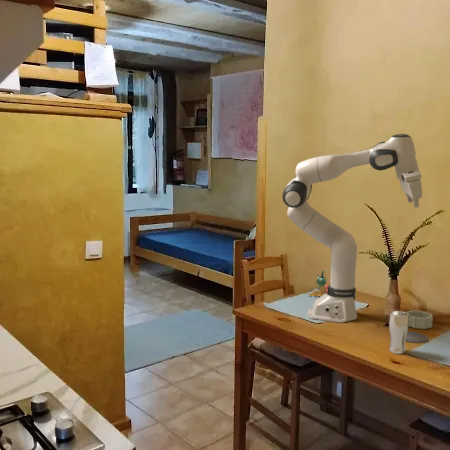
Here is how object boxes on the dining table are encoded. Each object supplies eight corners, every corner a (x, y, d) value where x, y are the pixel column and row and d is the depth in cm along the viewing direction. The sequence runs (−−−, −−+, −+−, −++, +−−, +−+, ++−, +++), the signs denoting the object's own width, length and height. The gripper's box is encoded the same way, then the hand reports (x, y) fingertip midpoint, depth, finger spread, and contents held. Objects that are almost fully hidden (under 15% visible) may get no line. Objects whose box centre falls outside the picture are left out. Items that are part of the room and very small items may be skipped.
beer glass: (396, 355, 188) (398, 317, 186) (383, 349, 194) (385, 311, 192) (410, 352, 191) (413, 314, 189) (397, 346, 197) (399, 309, 195)
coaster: (399, 341, 202) (399, 340, 202) (395, 331, 214) (395, 330, 214) (430, 343, 200) (430, 343, 200) (425, 333, 211) (425, 332, 211)
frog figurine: (342, 297, 264) (340, 270, 262) (309, 302, 263) (307, 275, 260) (337, 292, 274) (335, 266, 271) (304, 296, 272) (302, 270, 270)
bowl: (407, 328, 217) (408, 317, 216) (404, 320, 227) (404, 309, 227) (433, 330, 215) (434, 319, 214) (428, 322, 225) (429, 311, 224)
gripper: (394, 170, 217) (399, 200, 220) (405, 178, 197) (412, 211, 200) (408, 166, 216) (414, 197, 219) (422, 174, 196) (428, 208, 199)
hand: (413, 204), depth 209 cm, fingers open, 8 cm apart
